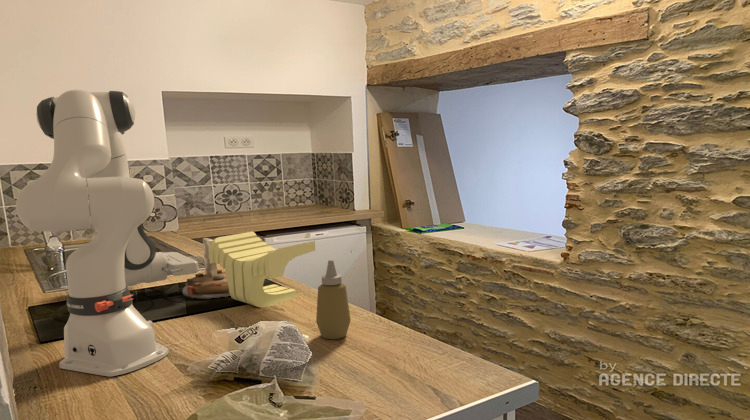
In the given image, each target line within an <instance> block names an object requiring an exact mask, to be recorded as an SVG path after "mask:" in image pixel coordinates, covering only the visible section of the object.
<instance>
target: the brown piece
mask: <svg viewBox="0 0 750 420" xmlns="http://www.w3.org/2000/svg"><path fill="white" fill-rule="evenodd" d="M213 240H214V239H211V238H210V237H209V238H208V237H204V238H202V244H203V246H202V247H203V258H204V270H205V272H204V273H201V272H197V273H194V274H195V276H194V277H192V278H191V277H190V278H187V279H186V286H194V293H198V294H215V293H224V292H229V286H228V281H227V277H226V273H225V271H223V269H218V266H217V265H218V264H217V263H211V264H210V259H209V246H210V244H211V242H212V241H213Z"/></svg>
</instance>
